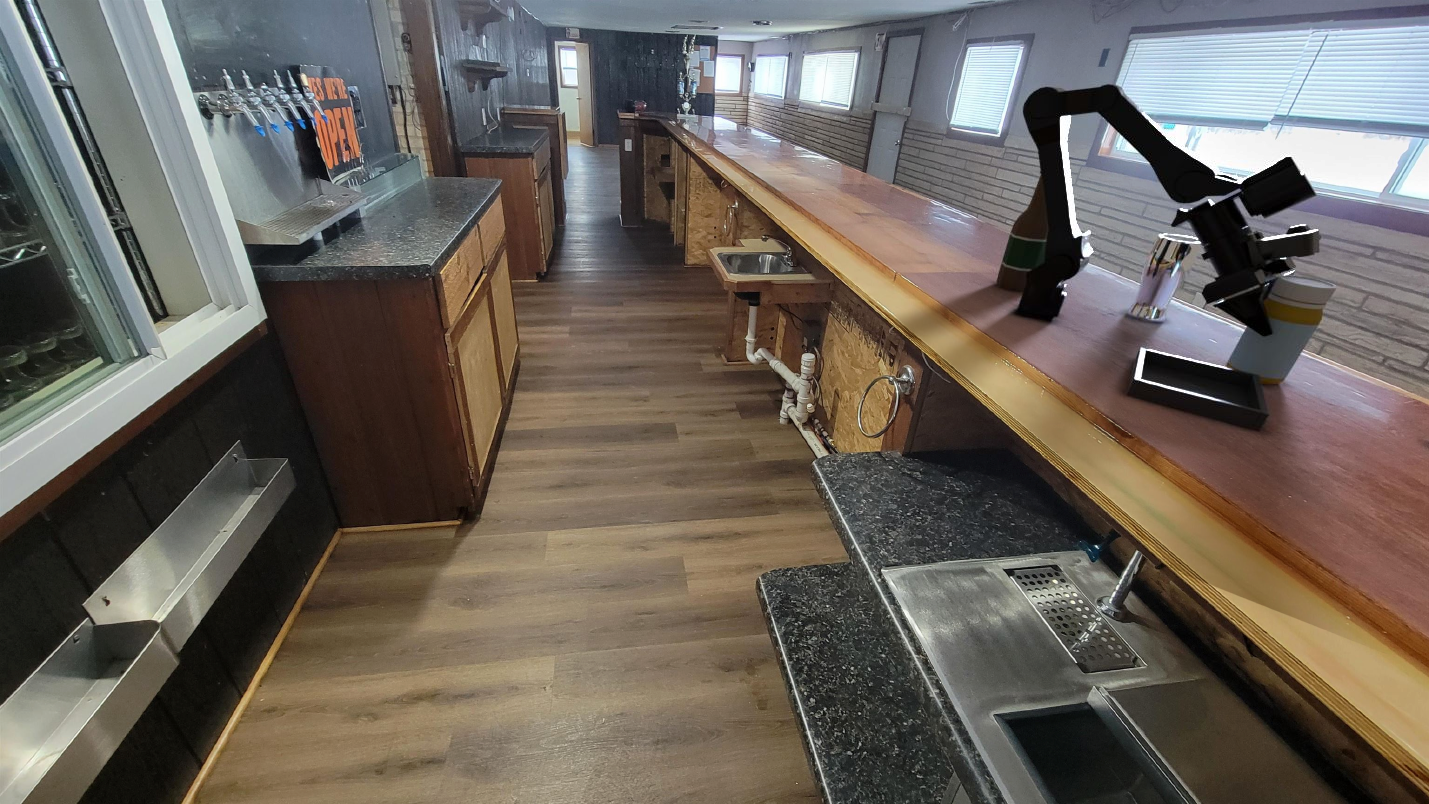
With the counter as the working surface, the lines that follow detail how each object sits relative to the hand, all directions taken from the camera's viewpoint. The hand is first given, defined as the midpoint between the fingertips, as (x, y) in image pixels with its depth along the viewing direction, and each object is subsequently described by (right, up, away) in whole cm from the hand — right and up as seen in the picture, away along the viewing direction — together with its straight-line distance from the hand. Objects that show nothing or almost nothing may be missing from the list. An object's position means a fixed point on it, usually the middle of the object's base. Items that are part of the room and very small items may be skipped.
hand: (1278, 329), depth 83 cm
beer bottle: (-18, +14, +39) cm, 45 cm away
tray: (-15, -9, -2) cm, 18 cm away
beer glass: (0, +6, +25) cm, 26 cm away
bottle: (0, -7, +4) cm, 8 cm away
